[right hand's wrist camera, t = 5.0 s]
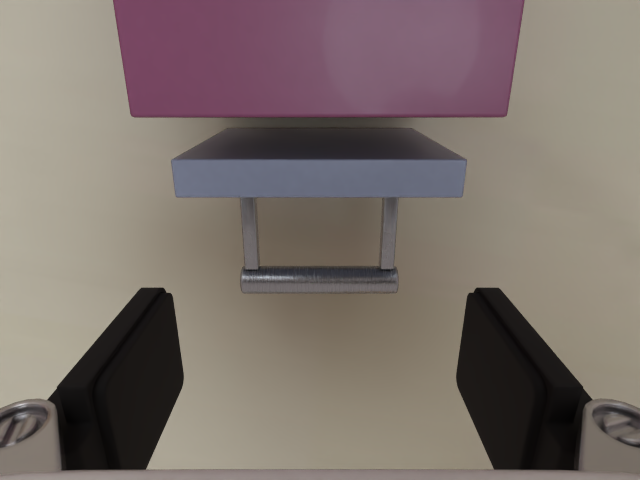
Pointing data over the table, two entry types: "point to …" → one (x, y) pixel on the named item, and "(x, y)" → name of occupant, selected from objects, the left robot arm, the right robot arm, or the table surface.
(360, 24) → the cabinet
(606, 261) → the table surface
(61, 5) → the table surface
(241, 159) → the drawer
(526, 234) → the table surface
